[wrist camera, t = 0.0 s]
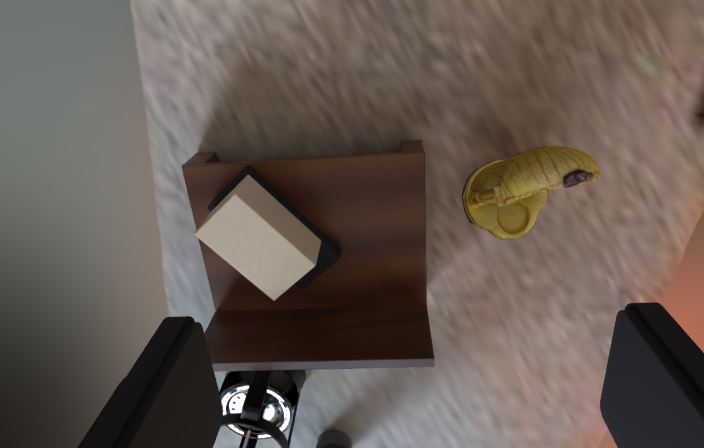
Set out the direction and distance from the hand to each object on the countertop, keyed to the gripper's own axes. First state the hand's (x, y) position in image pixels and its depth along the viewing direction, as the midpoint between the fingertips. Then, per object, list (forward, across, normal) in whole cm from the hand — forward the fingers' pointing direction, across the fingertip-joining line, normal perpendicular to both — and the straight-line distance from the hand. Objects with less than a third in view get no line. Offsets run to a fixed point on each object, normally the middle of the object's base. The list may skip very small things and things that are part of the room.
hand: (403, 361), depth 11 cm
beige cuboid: (+33, +11, +12) cm, 37 cm away
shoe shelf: (+37, +8, +14) cm, 40 cm away
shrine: (+37, -11, +9) cm, 40 cm away
